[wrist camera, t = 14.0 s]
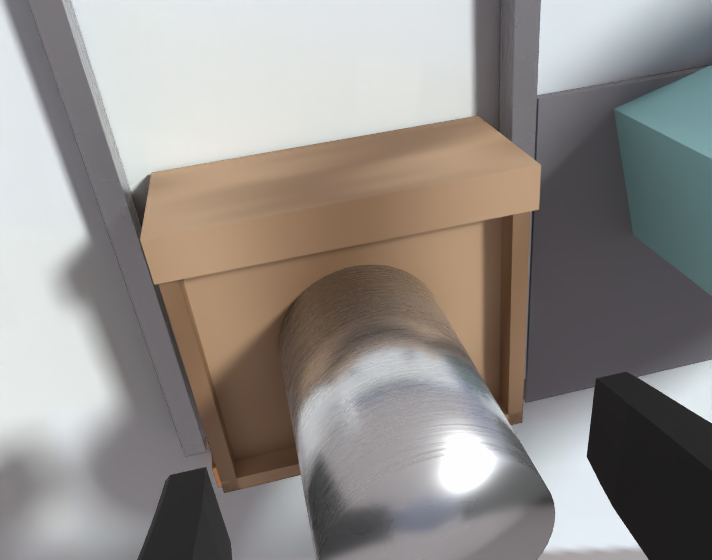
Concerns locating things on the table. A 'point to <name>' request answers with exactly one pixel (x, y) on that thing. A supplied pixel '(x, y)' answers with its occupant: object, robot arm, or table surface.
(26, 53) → the table surface
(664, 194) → the part
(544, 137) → the mat
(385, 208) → the brown wooden tray
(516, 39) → the track
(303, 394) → the part
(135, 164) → the table surface
